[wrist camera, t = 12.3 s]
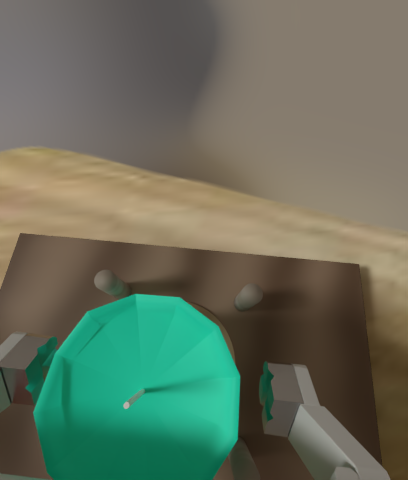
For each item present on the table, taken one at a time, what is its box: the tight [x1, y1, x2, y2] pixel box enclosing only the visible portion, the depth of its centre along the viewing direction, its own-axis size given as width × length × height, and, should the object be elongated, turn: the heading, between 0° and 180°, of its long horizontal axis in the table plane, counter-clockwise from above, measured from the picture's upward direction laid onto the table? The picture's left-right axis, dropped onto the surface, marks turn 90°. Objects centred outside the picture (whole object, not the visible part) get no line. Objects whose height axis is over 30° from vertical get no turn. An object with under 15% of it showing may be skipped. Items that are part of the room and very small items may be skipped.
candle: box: [33, 294, 240, 480], centre depth 12 cm, size 6×6×12 cm
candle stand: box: [0, 233, 382, 480], centre depth 17 cm, size 26×16×6 cm, turn 85°
